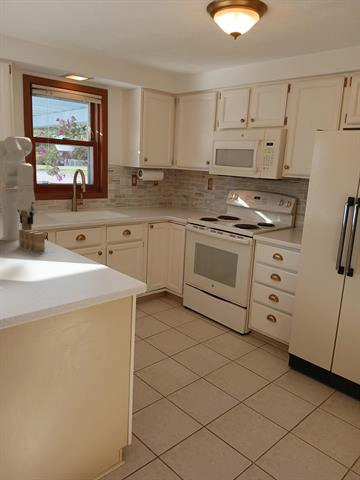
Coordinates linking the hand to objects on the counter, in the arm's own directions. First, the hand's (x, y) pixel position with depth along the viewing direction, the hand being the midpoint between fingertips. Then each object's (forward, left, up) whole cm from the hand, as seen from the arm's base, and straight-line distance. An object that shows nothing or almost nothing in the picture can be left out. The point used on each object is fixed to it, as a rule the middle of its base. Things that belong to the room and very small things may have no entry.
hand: (26, 223), depth 191 cm
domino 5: (-5, +7, -17) cm, 19 cm away
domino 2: (-19, +2, -17) cm, 25 cm away
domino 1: (0, 0, -4) cm, 4 cm away
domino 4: (-10, +6, -17) cm, 20 cm away
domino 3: (-14, +4, -17) cm, 22 cm away
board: (-10, +6, -17) cm, 21 cm away
